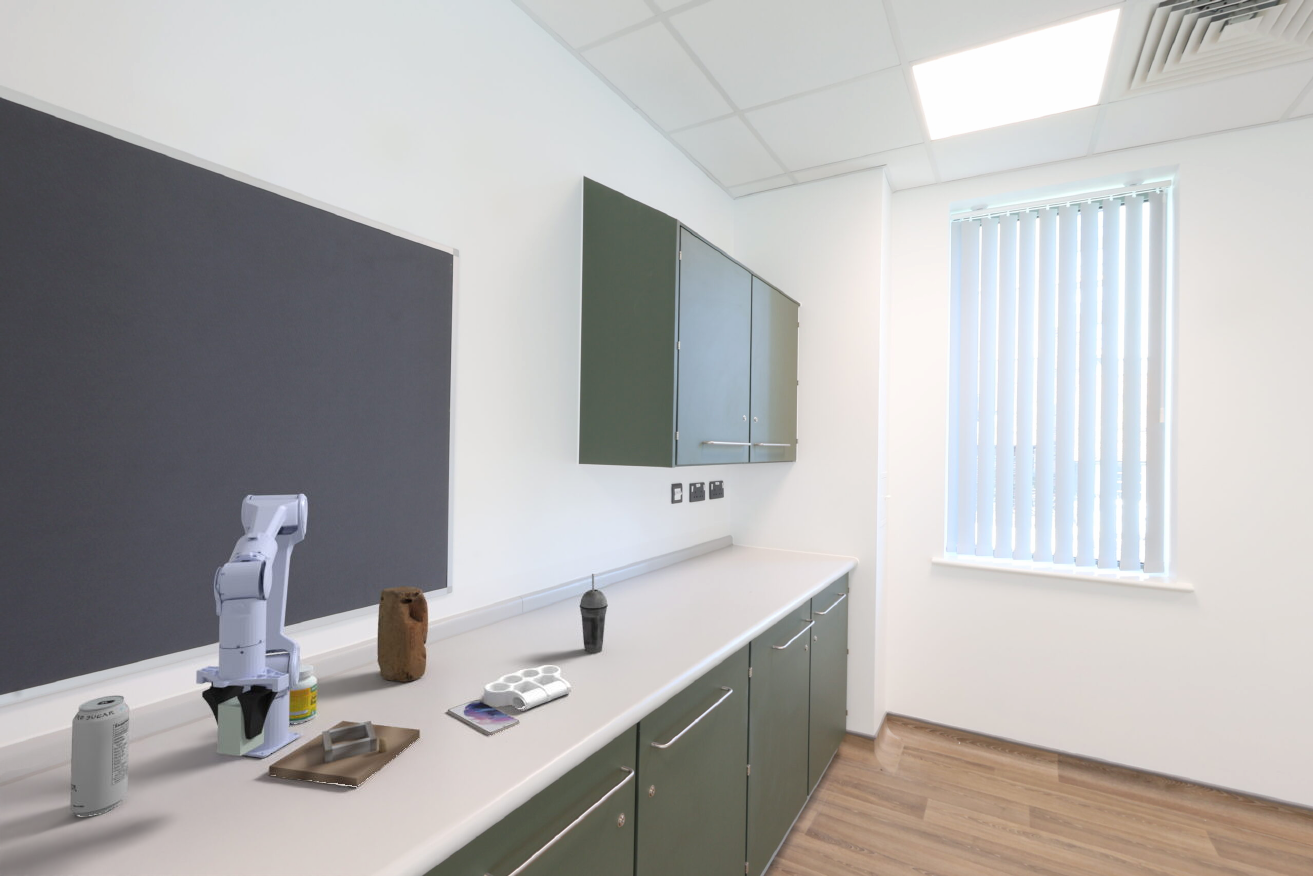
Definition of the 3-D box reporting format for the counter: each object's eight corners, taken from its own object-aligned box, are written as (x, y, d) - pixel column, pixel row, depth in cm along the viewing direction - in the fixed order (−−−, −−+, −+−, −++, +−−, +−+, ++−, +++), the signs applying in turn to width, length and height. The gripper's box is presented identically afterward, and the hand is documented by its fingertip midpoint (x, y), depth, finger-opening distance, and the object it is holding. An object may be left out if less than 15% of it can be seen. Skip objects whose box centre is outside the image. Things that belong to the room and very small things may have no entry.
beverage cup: (609, 646, 156) (610, 570, 156) (604, 655, 148) (605, 576, 149) (582, 645, 156) (583, 569, 157) (576, 654, 149) (576, 575, 149)
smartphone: (477, 699, 122) (521, 721, 112) (477, 703, 122) (521, 725, 112) (445, 709, 116) (489, 733, 106) (445, 714, 116) (489, 738, 106)
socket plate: (268, 775, 93) (269, 753, 93) (342, 729, 109) (342, 710, 109) (356, 788, 90) (357, 765, 90) (419, 738, 106) (419, 718, 106)
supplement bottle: (286, 715, 115) (287, 665, 115) (317, 710, 117) (318, 661, 117) (282, 727, 110) (282, 675, 110) (315, 721, 112) (315, 671, 112)
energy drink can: (82, 800, 87) (84, 697, 87) (134, 791, 89) (136, 691, 89) (61, 824, 81) (63, 714, 81) (117, 813, 84) (119, 707, 84)
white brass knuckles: (511, 720, 114) (471, 698, 124) (583, 692, 127) (541, 674, 137) (511, 703, 114) (471, 682, 124) (583, 676, 127) (542, 660, 137)
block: (373, 676, 134) (375, 588, 135) (403, 666, 141) (404, 582, 141) (403, 687, 128) (404, 595, 129) (432, 675, 135) (433, 588, 135)
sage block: (217, 753, 86) (218, 704, 86) (241, 739, 90) (242, 693, 90) (240, 756, 85) (240, 707, 85) (263, 742, 89) (264, 696, 89)
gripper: (176, 647, 85) (174, 742, 85) (260, 655, 82) (258, 753, 82) (221, 633, 92) (220, 720, 92) (300, 639, 89) (299, 730, 89)
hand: (241, 734), depth 87 cm, fingers closed on sage block, 4 cm apart
